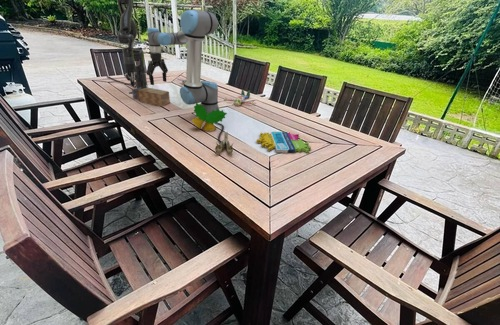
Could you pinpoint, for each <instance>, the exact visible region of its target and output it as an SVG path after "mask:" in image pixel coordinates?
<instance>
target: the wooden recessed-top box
mask: <svg viewBox="0 0 500 325" xmlns="http://www.w3.org/2000/svg"><path fill="white" fill-rule="evenodd" d="M139 97H140V99H139V102H140V103H144V104H149V105H153V106H158V107H163V106H167V105H168V104H169V105H170V103H171V99H170V98H171V97H170V91H168V90H164V89H163V90H162V89H158V88H152V87H148V88H144V89H141V90H139Z"/></svg>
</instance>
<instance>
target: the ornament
mask: <svg viewBox="0 0 500 325" xmlns="http://www.w3.org/2000/svg"><path fill="white" fill-rule="evenodd" d="M219 110H220V108H219V109H217V110H216V111H214V110H212V112H211V113H208V112H206V109H204V106H201V103H197V102H196V104H195V105H194V106H193V112H194V113H195V118H192V119H191V122H192V123H193V125H195V127H197V128H198V129H202V130H203V131H206V132H212V131H213V132H214V131H215V130H216V126H215V124H216V123H220V122H223V119H226V115H227V114H228V113H227V112H224V110H223V109H221V110H220V111H219ZM207 113H208V115H207Z"/></svg>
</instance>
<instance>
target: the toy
mask: <svg viewBox="0 0 500 325" xmlns="http://www.w3.org/2000/svg"><path fill="white" fill-rule="evenodd" d="M240 92H241V93H240V95H238V96H237V97H235V99H233V98H230V99H228V98H227V97H226V96H225V97H224V98H223V101H224V102H233V103H232V104H233V105H235V106H242V103H243V104H247V105H252V106H255V105H256V104H257V103H256V102H254V101H253V100H252V101H251V102H250V101H248V100H246V99H248V98H250V97H251V90H250V89H249V90H248V91H247V92H246V93H245V91H244V89H242V90H241V91H240Z"/></svg>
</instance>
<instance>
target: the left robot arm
mask: <svg viewBox="0 0 500 325" xmlns="http://www.w3.org/2000/svg"><path fill="white" fill-rule="evenodd" d="M116 2H117V5H118V9H119V12H120V15H121V16H120V20H119V21H120V24H119V25H120V26H119V30H118V33H117V41H118V43H119V44H121V45H127V46H126V47H123V48H122V49H121V50H122V57H123V65H124V69H125V74H123V77H124V78H125V79H126V80H127V81H129V82H130V83H128V82H125V81H124V82H123V81H120V80H117V79H114V78H113V77H110V76H109V75H107V76H106V78H109V79H111V80H113V81H115V82H117V83H121V84H124V85H127V86H131V87H133V88H135V89H137V88H140V87H141V88H142V89H144V88H149V86H148V85H149V84H148V81H147V74H146V73H147V70H146V62H145V53H144V51H143V50H142V49H134V43H135V40H136V39H137V37H138V27H137V24H136V22H135V20H134V19H133V18H132V15H133V8H134V0H116ZM136 62H139V63H138V64H136Z"/></svg>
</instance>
